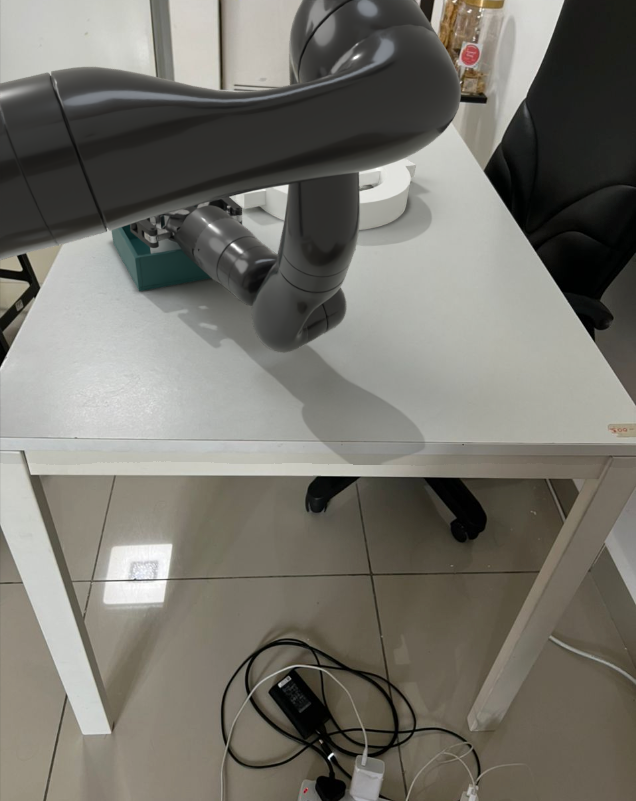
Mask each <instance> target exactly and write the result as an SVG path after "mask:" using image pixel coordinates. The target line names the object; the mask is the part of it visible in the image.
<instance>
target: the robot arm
mask: <svg viewBox="0 0 636 801" xmlns="http://www.w3.org/2000/svg"><path fill="white" fill-rule="evenodd" d="M288 76H289V78H288V79H289V85H283V86H278V87H273V88H268V89H260V90H259V89H258V90H246V91H237V90H236V91H233V90H223V89H222V90H220V89H213V88H207V87H202V86H197V85H192V84H187V83H182V82H179V81H174V80H171V79H167V78H163V77H158V76H154V75H149V74H146V73H140V72H134V71H129V70H125V69H119V68H118V69H117V68H111V67H110V68H109V67H101V66H78V67H76V66H75V67H68V68H64V69H63V68H62V69H56V70H52V71H50V72H43V73H39V74H35V75H30V76H25V77H21V78H18V79H12V80H9V81H8V80H7V81H5V82H0V261H3V260H6V259H10V258H14V257H17V256H21V255H25V254H28V253H32V252H36V251H41V250H46V249H49V248H50V249H51V248H54V247H59V246H62V245H66V244H69V243H73V242H76V241H80V240H84V239H86V238H90V237H94V236H98V235H101V234H105V233H107V232H108V231H110V232H112V230H115V229H118V228H121V227H124V226H126V225H129V224H130V226H131V227H130V229H131V232H132V233H133V234H134V235H136V236H137V237H138V238H139V239H140V240H142V241H143V242H144V243H145V244H147V245H148V246H149V247H150V248H157V247H159V242H158V241H161V240H165V239H169V240H170V241H174V242H176V243H178V245H179V246H180V248H181V249H182V251H183V252H184V253H185V255H186V256H188V257H189V258H190V259H191V260H192V261H193V262H194V263H195V264H196V265H198V266H199V267H200V268H201V269H202V270H203V271H204V272H205V273H206V274H208V275H209V276H210V277H211V278H210V279H212V280H213V281H215V282H216V283H218V284H220V285H221V286H222V287H224V288H225V289H226V290H227V291H228V292H230V294H232V295H233V296H234V297H235V298H236V299H237V300H238V301H239V302H241V303H242V304H244V305H246V306H247V307H251V324H252V327H253V330H254V333H255V335H256V337H257V339H258V340H259V341H260V342H261V344H262V345H263V346H265V347H266V348H267V349H269V350H271V351H273V352H276V353H281V354H286V353H291V352H295V351H296V350H298V349H300V348H302V347H304V346H305V345H307V344H309V343H311V342H312V341H314V340H316V339H317V338H320V337H321V336H323V335H325V334H326V333H328V332H330V331H333V329H335V328H337V327H338V326H339V325H340V324H341V323H342V322H343V320H344V319H345V317H346V314H347V308H348V306H347V298H346V295H345V292H344V290H343V288H342V286H343V283H344V282H345V279H346V277H347V274H348V271H349V270H350V269H349V268H350V266H351V263H352V260H353V257H354V255H355V252H356V248H357V245H358V240H359V235H360V234H359V232H360V230H359V224H360V191H361V190H360V186H359V172H362V171H366V170H370V169H375V168H378V167H382V166H385V165H388V164H391V163H394V162H397V161H399V160H402V159H404V158H406V159H407V158H408V157H410V156H413V155H414V154H416V153H418V152H420V151H421V150H423V149H425V148H426V147H427V146H430V145H431V144H432V143H433V142H434V141H436V140H437V139H438V138H439V137H440V136H441V135H442V134H443V133H444V132H446V130H447V129H448V127H449V126H450V124H451V123H452V122H453V121H454V119H455V117H456V116H457V113H458V110H459V108H460V103H461V98H462V86H461V80H460V77H459V74H458V71H457V69H456V67H455V65H454V62H453V60H452V58H451V56H450V53H449V52H448V50H447V49H446V47H445V44H444V43H443V42H442V40H440V38H439V35H438V34H437V32H436V31H435V29H434V27H433V26H432V24H431V23H430V21H429V19H428V18H427V16H426V15H425V13H424V12H423V10H422V9H421V6H420V5H419V3H418V2H417V0H301V2H300V4H299V6H298V8H297V9H296V12H295V15H294V17H293V21H292V23H291V28H290V34H289V41H288ZM283 185H288V194H287V204H286V212H285V219H284V220H283V225H282V230H281V235H280V240H279V246H278V250H277V252H275V251H273V250H272V249H271V247H268V246H267V245H266V244H265V243H263V241H261V240H259V239H258V237H257V236H256V235H255V234H254V233H253V232H252V231H251V230H249V228H248V227H246V226H244V225H243V207H242V206H241V205H240V204H239V203H237V202H236V201H235V200H233V198H231V197H235V195H239V194H243V193H247V192H251V191H256V190H261V189H267V188H272V187H278V186H283ZM194 206H197V207H194ZM184 208H185V209H184ZM164 216H169V218H168V221H167V224H166V226H165V217H164ZM151 217H155V221H156V223H155V222H150V218H151Z"/></svg>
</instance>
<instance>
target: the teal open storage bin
mask: <svg viewBox="0 0 636 801" xmlns="http://www.w3.org/2000/svg"><path fill="white" fill-rule="evenodd" d="M194 207H197V206H194ZM130 227H131V226H130V224H129V225H126V226H124V227H121V228H118V229H115V230H112V231H111V238H112V244H113V246H114V247H115V250H116V251H117V254H118V255H119V257H120V259H121V261H122V263H123V265H124V266H125V268H126V270H127V272H128V273H129V276H130V277H131V279H132V281H133V283H134V285H135V287H136V288H137V290H138V292H143V291H149V290H154V289H158V288H159V289H160V288H165V287H170V286H176V285H181V284H186V283H187V284H188V283H192V282H197V281H198V282H199V281H203V280H209V279H212V278H211V277H210V276H209V275H208V274H206V273H205V272H204V271H203V270H202V269H201V268H200V267H199V266H198V265H196V264H195V263H194V262H193V261H192V260H191V259H190V258H189V257H188V256H186V255H185V253H184V252H183V251H182V249H177V250H171V251H165V252H158V253H152V254H151V250H150V247H149V246H148V245H147V244H145V243H144V242H143V241H142V240H140V239H139V238H138V237H137V236H136V235H134V234H133V233H132V232H131V229H130Z"/></svg>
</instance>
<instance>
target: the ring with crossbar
mask: <svg viewBox="0 0 636 801" xmlns="http://www.w3.org/2000/svg"><path fill="white" fill-rule="evenodd" d="M416 167H417V164H416V163H414V162H412V161H410V159H407V157H406V158H404V159H402V160H399V161H397V162H394V163H391V164H388V165H385V166H382V167H378V168H375V169H370V170H366V171H362V172H359V187H363V186H369V185H370V186H371V187H372V188H371V187H370V188H368V189H363V190H359V191H360V224H359V231H364V230H369V229H374V228H378V227H381V226H385V225H387V224H390V223H392V222H394V221H396V220H397V219H399V218H400V217H401V216H402V215H403V213H404V212H405V210H406V208H407V202H408V197H409V192H410V186H411V180H412V178H415V173H416ZM287 194H288V185H283V186H278V187H272V188H267V189H261V190H256V191H251V192H247V193H243V194H239V195H234V201H235V202H236V203H237V204H238V205H239V206H240V207H242V209H251V208H255V207H260V208H261V209H262V210H264V211H265V212H266V213H267V214H269V215H271V216H273V217H275V218H277V219H280V220H281V221H284V219H285V212H286V204H287Z"/></svg>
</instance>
